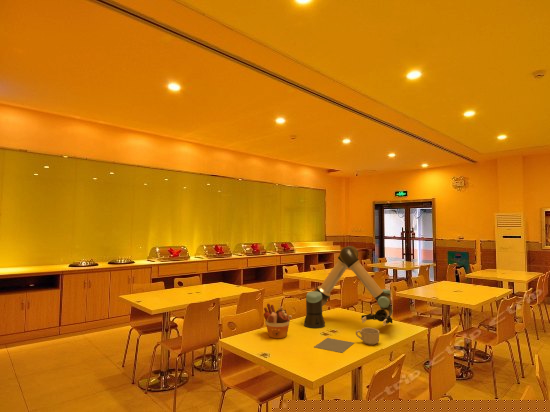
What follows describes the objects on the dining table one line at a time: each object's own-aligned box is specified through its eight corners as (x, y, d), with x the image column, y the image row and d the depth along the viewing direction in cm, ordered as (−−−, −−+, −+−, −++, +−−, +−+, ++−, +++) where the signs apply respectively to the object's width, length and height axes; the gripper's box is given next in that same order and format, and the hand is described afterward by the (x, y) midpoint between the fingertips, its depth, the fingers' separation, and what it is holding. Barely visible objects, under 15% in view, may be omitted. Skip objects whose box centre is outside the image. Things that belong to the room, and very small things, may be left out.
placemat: (313, 347, 200) (313, 346, 200) (327, 338, 217) (327, 337, 217) (342, 353, 190) (342, 352, 190) (354, 342, 207) (354, 342, 207)
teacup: (380, 341, 210) (379, 328, 210) (379, 347, 199) (378, 333, 200) (357, 339, 214) (356, 326, 215) (355, 344, 204) (354, 331, 204)
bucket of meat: (296, 336, 220) (296, 305, 222) (277, 342, 209) (277, 309, 211) (276, 330, 235) (276, 301, 237) (257, 335, 224) (257, 304, 226)
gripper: (401, 322, 226) (393, 330, 208) (364, 318, 240) (354, 325, 222) (400, 311, 227) (392, 318, 209) (364, 307, 240) (353, 313, 222)
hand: (373, 322), depth 215 cm, fingers open, 13 cm apart
